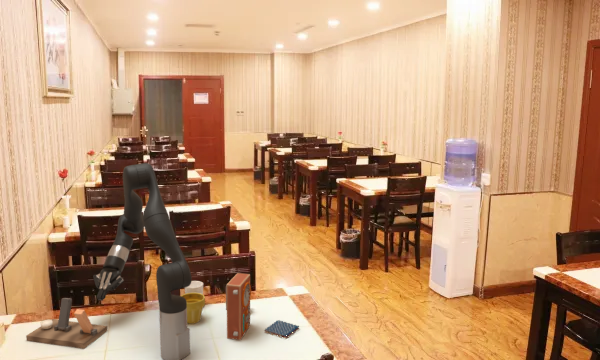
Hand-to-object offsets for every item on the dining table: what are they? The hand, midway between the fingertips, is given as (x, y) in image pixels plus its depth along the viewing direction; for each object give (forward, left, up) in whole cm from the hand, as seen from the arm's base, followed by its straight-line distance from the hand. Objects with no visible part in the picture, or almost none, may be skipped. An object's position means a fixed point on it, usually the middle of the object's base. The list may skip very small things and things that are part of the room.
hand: (99, 299), depth 189 cm
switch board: (+7, +10, -12) cm, 17 cm away
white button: (+15, +12, -10) cm, 22 cm away
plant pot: (-25, -23, -12) cm, 37 cm away
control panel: (-47, -24, -12) cm, 55 cm away
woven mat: (-61, -33, -13) cm, 71 cm away
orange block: (-2, +7, -9) cm, 12 cm away
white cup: (-17, -34, -12) cm, 40 cm away
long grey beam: (+9, +10, -9) cm, 16 cm away
